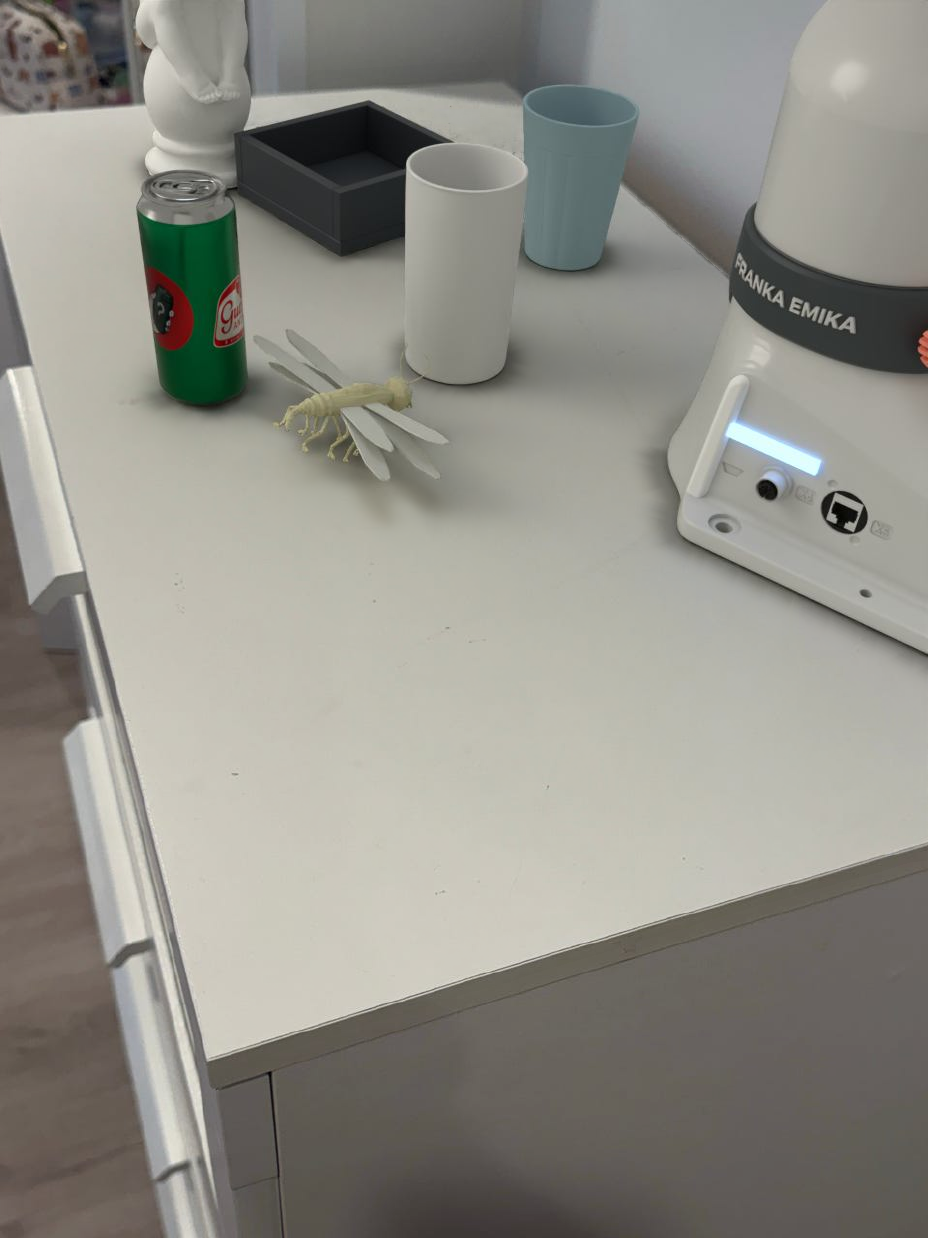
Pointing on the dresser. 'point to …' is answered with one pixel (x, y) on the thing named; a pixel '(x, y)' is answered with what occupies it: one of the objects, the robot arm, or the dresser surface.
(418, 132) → the bin
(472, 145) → the mug
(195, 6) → the cherub figurine
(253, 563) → the dresser surface
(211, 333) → the soda can
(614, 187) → the cup
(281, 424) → the toy
